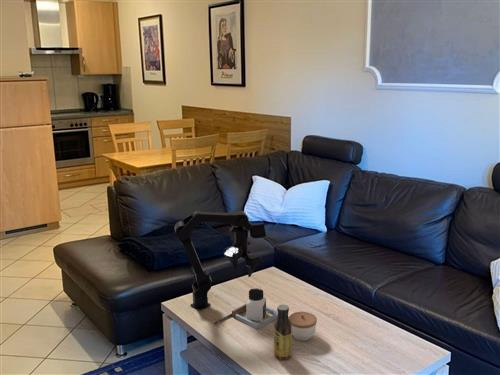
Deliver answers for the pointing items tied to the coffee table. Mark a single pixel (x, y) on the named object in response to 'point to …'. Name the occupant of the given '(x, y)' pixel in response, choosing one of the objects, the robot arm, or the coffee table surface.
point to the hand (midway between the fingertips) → (242, 273)
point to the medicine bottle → (256, 305)
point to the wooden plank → (239, 310)
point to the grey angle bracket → (262, 322)
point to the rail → (223, 318)
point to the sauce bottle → (282, 334)
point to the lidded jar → (303, 325)
